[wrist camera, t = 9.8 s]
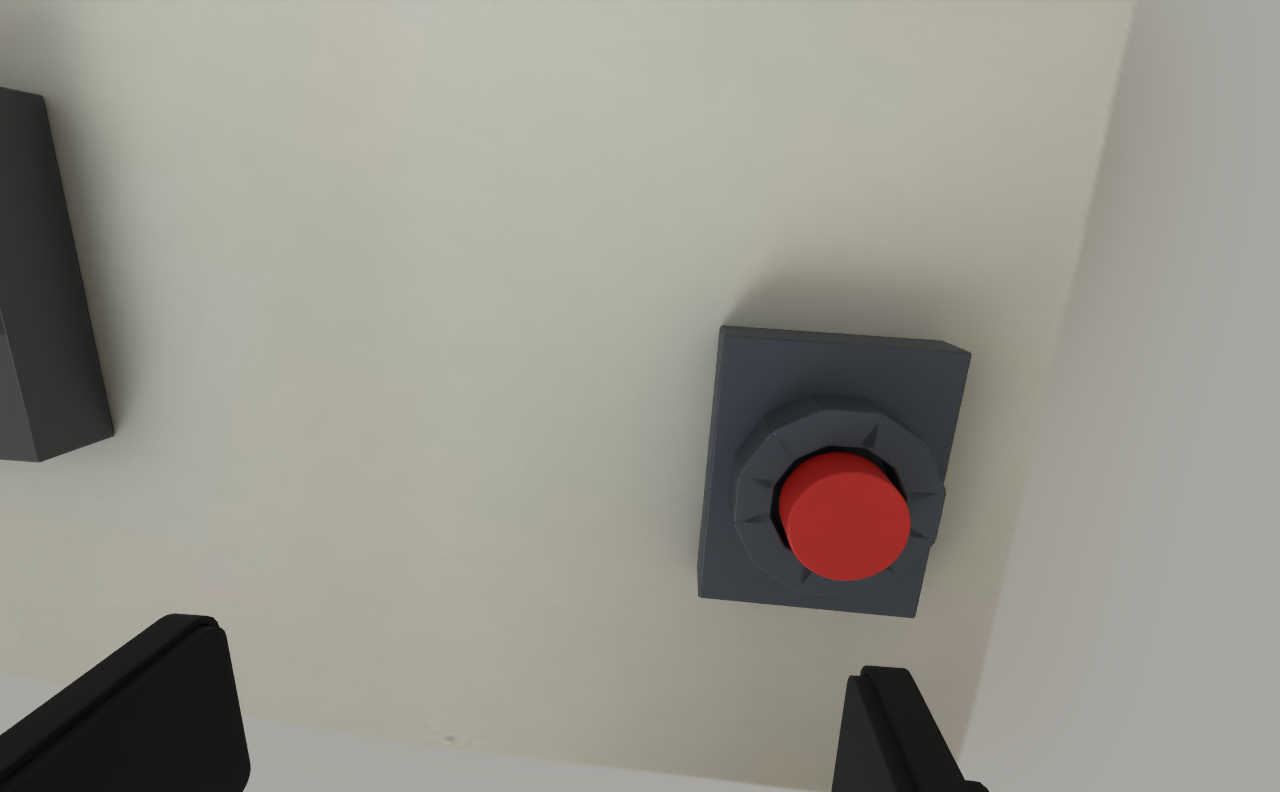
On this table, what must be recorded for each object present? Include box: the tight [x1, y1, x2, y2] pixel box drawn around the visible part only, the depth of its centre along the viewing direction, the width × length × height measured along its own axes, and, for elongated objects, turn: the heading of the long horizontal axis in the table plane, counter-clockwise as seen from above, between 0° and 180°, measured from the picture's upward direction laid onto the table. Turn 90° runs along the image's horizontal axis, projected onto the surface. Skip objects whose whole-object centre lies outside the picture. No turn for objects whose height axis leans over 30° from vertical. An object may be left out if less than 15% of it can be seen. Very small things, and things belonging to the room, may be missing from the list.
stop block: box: [697, 326, 971, 618], centre depth 21 cm, size 10×8×4 cm
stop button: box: [779, 452, 911, 581], centre depth 18 cm, size 4×4×2 cm
